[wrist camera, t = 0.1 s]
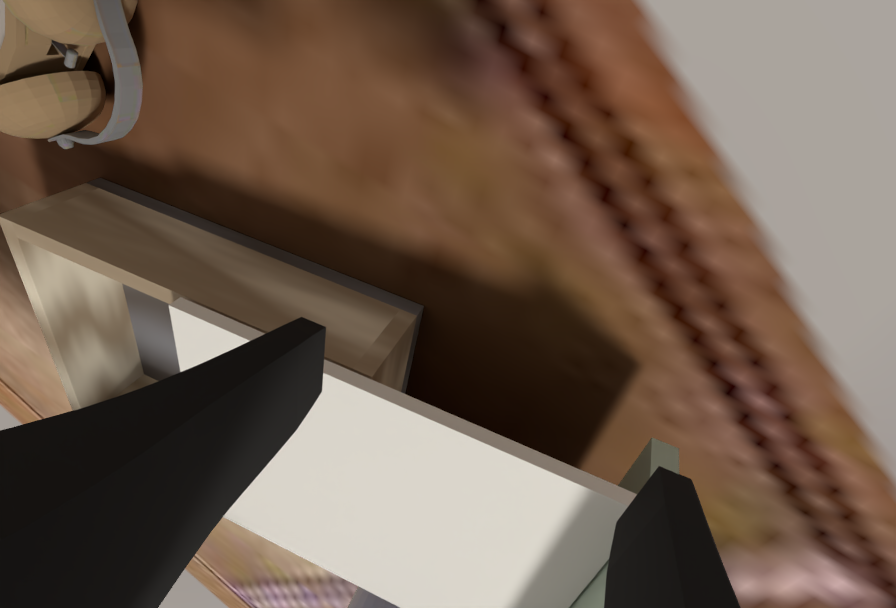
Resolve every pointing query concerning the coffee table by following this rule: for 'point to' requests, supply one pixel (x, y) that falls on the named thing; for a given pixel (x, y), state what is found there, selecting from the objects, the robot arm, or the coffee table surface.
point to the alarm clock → (66, 69)
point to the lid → (425, 495)
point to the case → (180, 291)
